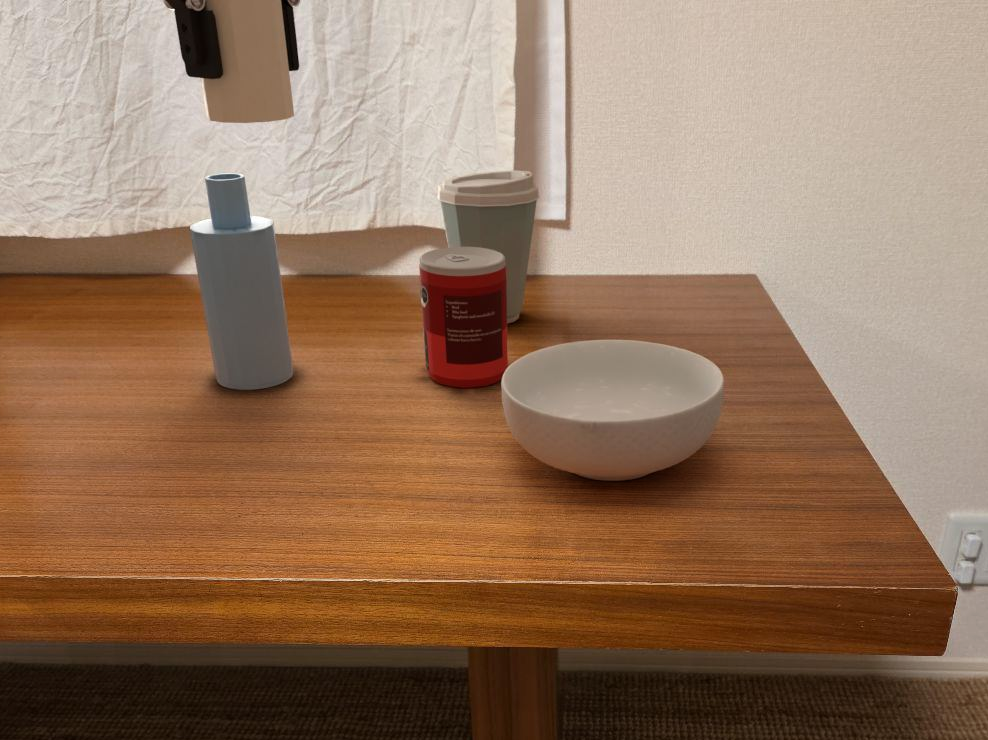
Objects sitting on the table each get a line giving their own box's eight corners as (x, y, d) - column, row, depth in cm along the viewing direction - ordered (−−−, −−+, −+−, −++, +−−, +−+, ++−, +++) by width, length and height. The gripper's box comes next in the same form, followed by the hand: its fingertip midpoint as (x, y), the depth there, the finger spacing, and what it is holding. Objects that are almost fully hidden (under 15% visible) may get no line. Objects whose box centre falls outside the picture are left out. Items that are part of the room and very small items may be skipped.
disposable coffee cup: (433, 331, 106) (424, 182, 99) (452, 301, 116) (446, 163, 108) (533, 334, 105) (532, 184, 98) (544, 303, 114) (544, 165, 107)
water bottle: (250, 395, 91) (217, 188, 82) (201, 379, 94) (164, 178, 85) (308, 373, 96) (283, 174, 87) (259, 358, 99) (230, 166, 90)
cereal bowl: (569, 402, 89) (570, 325, 85) (748, 442, 82) (758, 359, 78) (460, 476, 76) (456, 389, 73) (660, 531, 69) (666, 437, 65)
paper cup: (244, 125, 67) (225, -11, 63) (190, 118, 70) (169, -13, 66) (310, 115, 71) (296, -13, 67) (256, 109, 74) (240, -14, 70)
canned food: (460, 354, 100) (455, 242, 94) (525, 370, 96) (523, 254, 90) (408, 377, 95) (399, 259, 89) (475, 395, 91) (470, 273, 85)
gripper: (271, -232, 68) (303, 61, 77) (30, -271, 57) (100, 81, 66) (348, -243, 65) (372, 67, 74) (106, -288, 53) (170, 88, 62)
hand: (244, 70), depth 69 cm, fingers closed on paper cup, 5 cm apart
